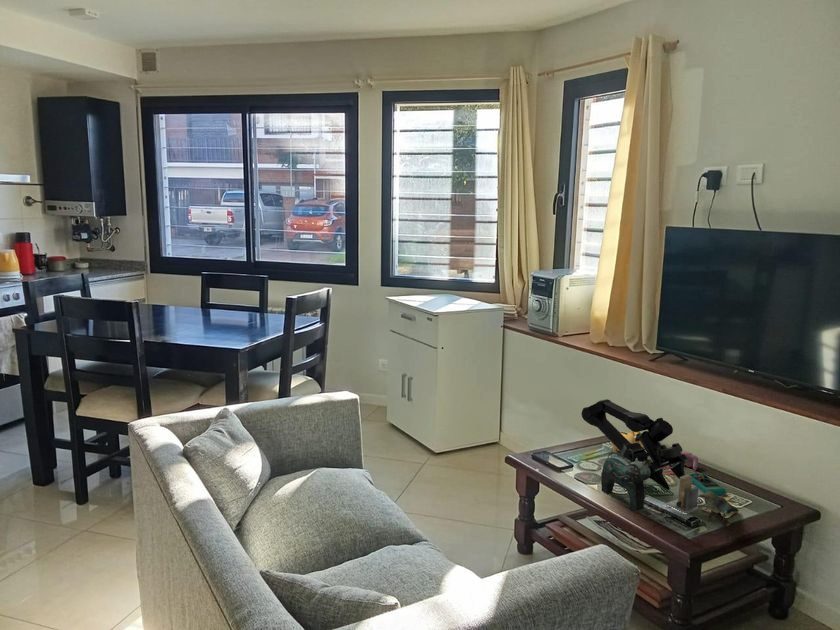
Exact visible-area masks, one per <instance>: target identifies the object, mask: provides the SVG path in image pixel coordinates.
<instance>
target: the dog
mask: <svg viewBox="0 0 840 630" xmlns="http://www.w3.org/2000/svg"><path fill="white" fill-rule="evenodd" d="M620 433H621V434H622V435H623V436H624V437H625V438H626V439H627V440H628V441H629V442H630V443H632V444H633V443H637V442H638V443H639V444H640V445H641V446H642V447H643V448H644V446H643V445H642V443H641V441H637V442H636V441H635V439H636V434H639V433H641V431H639V432H633V431H631V430H630V431H629V432H628V433H627V434H625V433H623V432H620ZM610 444H611V447H612V452H617V453H618V450H619V449H618V448H617V447H616V446H615V445H614V444H613V443H612V442H611V441H610ZM644 449H645V448H644Z"/></svg>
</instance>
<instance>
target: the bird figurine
mask: <svg viewBox="0 0 840 630" xmlns="http://www.w3.org/2000/svg"><path fill="white" fill-rule="evenodd" d="M697 497H698V498H703V499H704V503H705V505H707V507H708V508H709V509H710V512H709V514H708V515H707V516H706V519H707V520H708V521H712V518H713V517H714V516H715V517H716V518H718V519H719V520H720V522H721V524H723V525H725V526H726V527H729V526H730V525H731V523H730V522H729V521H728V519H726V515H729V514H731V513H734V514H737V513H738V512H740V510H739V509H738V508H737V507H735V506H733V505H732V504H731V503H729V502H728V501H727V499H726V498H725V497H723V496H721V495H716V494H715V493H714V492H711V491H708V492H706V493H702V494H698V496H697Z"/></svg>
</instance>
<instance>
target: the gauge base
mask: <svg viewBox="0 0 840 630" xmlns="http://www.w3.org/2000/svg"><path fill="white" fill-rule="evenodd" d="M699 490H700V489H699V488H698V487H696V486H693V487H691V489H689V490H687V495H686V505H685V506H681V505H680V506H676V502H678V498H677V499H674V500H670V501H668V502H666V505H669V506H671V507H673V508H675V509H677V510H679V511H681V512H684V513H688V514H690V513H693V512H696V511H698V509H699V506H698V501H699V497H697V496H699Z"/></svg>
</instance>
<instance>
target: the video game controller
mask: <svg viewBox="0 0 840 630" xmlns="http://www.w3.org/2000/svg"><path fill="white" fill-rule="evenodd" d="M681 453H682V454H685V456H686V458H687V460H686V463H685V466H686V467H688V468H692V469H693V472H695V471H696V470H697V469H698V464H699V457H697V456H696V454H694V453H691V452H688V451H684V450H682V452H681Z"/></svg>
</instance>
